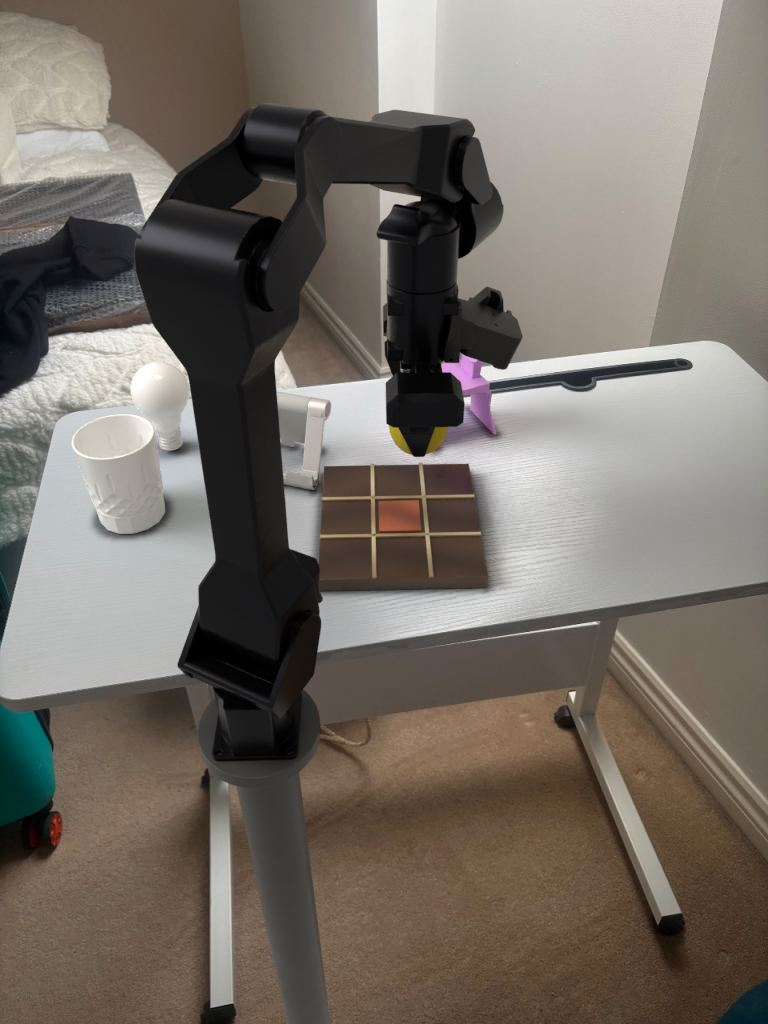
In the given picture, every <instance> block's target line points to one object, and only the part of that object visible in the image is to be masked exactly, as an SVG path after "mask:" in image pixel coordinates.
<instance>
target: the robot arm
mask: <svg viewBox="0 0 768 1024" xmlns="http://www.w3.org/2000/svg"><path fill="white" fill-rule="evenodd" d="M475 133H476V128H475V126H474V124H473V122H472V121H471V120H469V119H468V118H463V117H456V116H448V115H439V114H431V113H424V112H417V111H409V110H403V109H391V110H387V111H382V112H379V113H375V114H373V116H372V117H371V120H369V121H366V120H365V121H363V120H357V119H350V118H345V117H344V118H342V117H336V116H331V115H329V114H328V113H327V112H325V111H324V110H321V109H318V108H317V109H315V108H311V107H310V108H308V107H302V106H295V105H287V104H279V103H273V102H263V103H259V104H257V105H255V106H250V107H248V108H247V109H245V111H244V112H243V113H242V114H241V115H240V118H239V119H238V121H237V122H236V124H235V125H234V127H233V128H232V130H231V131H230V133H229V135H228V136H227V137H226V138H225V139H224V140H222V141H221V142H219V143H217V144H216V145H215V146H213V147H212V148H210V149H209V150H208V151H207V152H205V153H204V154H202V155H201V156H200V157H198V158H197V159H195V160H194V161H193V162H190V164H188V165H186V166H185V167H184V168H182V169H181V170H180V171H179V172H178V173H177V174H176V175H175V176H174V178H173V179H172V180H171V182H170V184H169V185H168V187H167V189H166V190H165V191H164V194H163V195H162V196H161V198H160V199H159V200H158V202H157V203H156V205H155V207H154V208H153V209H152V212H151V213H150V215H149V216H148V218H147V219H146V221H145V222H144V223H143V225H142V226H141V227H142V228H141V230H140V232H139V234H138V235H137V236H136V239H135V241H134V250H133V253H134V255H133V257H134V269H135V273H136V277H137V280H138V281H137V282H138V284H139V287H140V290H141V293H142V296H143V300H144V302H145V306H146V309H147V312H148V314H149V317H150V321H151V323H152V326H153V327H154V329H155V330H156V332H158V334H159V335H160V337H161V338H162V340H163V341H164V343H165V344H166V345H167V346H168V348H169V349H170V350H171V352H172V353H173V354H174V356H175V357H176V359H177V360H178V361H179V362H180V364H181V365H182V366H183V368H184V369H185V371H186V374H187V379H188V383H189V387H190V398H191V403H192V404H191V405H192V409H193V416H194V423H195V430H196V435H197V444H198V449H199V456H200V463H201V470H202V476H203V482H204V490H205V496H206V497H205V498H206V503H207V509H208V515H209V523H210V529H211V535H212V541H213V542H212V543H213V549H214V562H213V563H212V565H211V567H210V568H209V569H208V571H207V572H206V574H205V575H204V577H203V579H202V580H201V581H200V583H199V584H198V586H197V594H198V595H197V597H198V598H197V599H198V601H197V602H198V606H197V608H196V611H195V614H194V616H193V620H192V623H191V625H190V628H189V631H188V634H187V636H186V640H185V642H184V644H183V647H182V650H181V653H180V655H179V658H178V661H177V668H178V669H179V670H180V671H181V672H182V673H183V674H184V675H185V676H186V677H187V678H190V679H195V680H198V681H200V682H202V683H204V684H207V685H208V686H210V687H212V691H213V696H214V698H215V700H216V705H217V710H218V719H217V725H216V731H215V737H214V743H213V750H212V757H213V759H214V760H215V761H263V760H293V759H295V758H296V757H297V756H298V747H299V733H300V718H301V703H302V692H301V691H302V690H305V688H306V686H307V685H308V683H309V682H310V681H311V680H312V678H313V677H314V675H315V671H316V666H317V665H316V664H317V658H318V653H319V652H318V651H319V645H320V637H321V631H322V618H321V616H320V613H321V612H320V604H321V603H323V601H324V600H323V599H324V598H323V595H322V593H321V591H320V587H319V581H320V567H319V565H318V564H319V561H318V559H317V558H316V557H313V556H311V555H308V554H306V553H303V552H300V551H298V550H295V549H292V548H290V543H289V532H288V531H289V530H288V517H287V507H286V505H287V503H286V493H285V492H286V491H285V484H284V479H283V472H284V468H283V456H282V455H283V454H282V441H281V438H280V429H279V416H278V403H277V392H278V391H277V381H276V380H277V379H276V359H277V357H278V356H279V354H280V352H281V351H282V349H283V348H284V346H285V344H286V342H287V341H288V339H289V338H290V336H291V334H292V332H293V331H294V329H295V328H296V326H297V324H298V322H299V319H300V301H301V292H302V289H303V288H304V286H305V285H306V283H307V281H308V279H309V277H310V275H311V274H312V272H313V270H314V269H315V266H316V265H317V263H318V261H319V259H320V257H321V256H322V254H323V252H324V250H325V249H326V245H327V234H326V231H327V230H326V221H325V219H326V218H325V207H324V205H325V204H324V198H325V196H326V194H327V193H328V191H329V189H330V188H331V186H332V185H370V186H372V187H375V188H377V189H379V190H381V191H385V192H390V193H396V194H401V195H407V196H413V197H419V198H420V200H416V201H411V202H409V203H407V204H405V205H404V204H399V203H394V204H393V206H392V207H391V210H390V212H389V214H388V215H387V216H386V217H385V218H384V219H383V220H382V221H381V222H380V223H379V225H378V228H377V230H376V238H377V239H379V240H383V241H386V243H387V244H386V253H387V254H386V257H387V258H386V259H387V261H386V263H387V265H386V271H387V273H386V274H387V275H386V303H384V304H383V306H382V334H383V335H382V336H383V337H386V340H385V341H384V343H383V344H384V357H385V360H386V363H387V365H388V369H389V370H390V372H391V375H392V376H391V377H390V378H389V379H388V380H386V382H385V423H386V425H388V427H389V426H391V427H393V428H399V430H400V432H401V434H402V436H403V438H404V440H405V442H406V444H407V446H408V447H409V449H410V451H411V453H412V455H411V456H412V457H414V458H424V457H425V456H426V455H427V454H426V452H427V449H428V447H429V444H430V441H431V438H432V435H433V432H434V430H435V427H448V428H458V427H460V426H461V425H462V424H463V425H464V420H465V418H464V417H465V405H466V404H465V397H464V396H463V391H462V385H461V382H460V381H459V380H458V379H457V378H456V377H455V376H454V375H453V374H452V373H451V372H442V365H441V364H442V363H459V359H461V356H460V355H462V354H463V355H465V356H467V357H470V358H473V359H476V360H479V361H482V363H486V364H489V365H492V367H493V368H494V369H498V370H501V371H502V370H507V369H508V367H509V366H510V363H511V361H512V360H513V357H514V355H515V354H516V352H517V350H518V348H519V346H520V344H521V342H522V340H523V337H524V336H523V332H522V330H521V326H520V323H519V321H518V319H517V318H516V317H515V316H514V315H513V313H512V310H509V309H507V310H506V311H505V309H504V297H503V295H502V291H501V290H499V289H496V288H492V287H490V286H485V287H484V288H483V289H481V291H479V292H478V293H477V294H476V295H474V297H471V296H470V297H469V298H468V300H466V299H462V298H459V286H458V283H457V282H458V281H457V280H458V270H459V269H458V268H459V267H458V266H459V264H458V263H459V259H463V258H464V257H466V256H468V255H469V254H470V253H471V252H472V251H474V250H475V249H476V248H477V247H478V246H479V245H481V244H482V243H483V242H484V241H485V240H486V239H488V238H489V237H490V236H491V235H492V234H493V233H494V232H495V231H497V230H498V228H499V226H500V224H501V223H502V220H503V216H504V208H505V207H504V204H503V201H502V196H501V194H500V192H499V190H498V189H497V187H496V186H495V185H494V183H493V182H492V181H491V179H490V175H489V170H488V167H487V163H486V159H485V154H484V152H483V148H482V143H481V141H480V139H479V138H478V137H476V136H474V135H475ZM263 181H270V182H275V183H282V184H285V185H293V186H295V187H296V188H295V189H296V198H295V200H294V201H293V203H292V205H291V207H290V209H289V210H288V212H287V214H286V215H285V217H284V219H283V221H282V220H281V219H280V218H277V217H275V216H272V215H267V214H262V213H257V212H251V211H247V210H242V209H236V208H234V207H235V206H236V205H238V204H239V203H240V202H242V201H243V200H244V199H246V198H247V197H249V196H250V195H251V194H253V193H254V192H255V191H257V189H258V188H259V187H260V186H261V184H262V182H263ZM291 751H293V752H294V753H293V754H289V752H291ZM218 753H222V754H221V755H219V756H217V755H216V754H218Z"/></svg>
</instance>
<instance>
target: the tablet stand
mask: <svg viewBox="0 0 768 1024" xmlns="http://www.w3.org/2000/svg"><path fill="white" fill-rule="evenodd" d="M277 403H278V416H279V429H280V441H281V444H282V445H283V446H287V447H291V448H295V443H300V444H304V445H303V456H302V457H303V458H302V468H301V472H297V471H291V470H286V471H283V479H284V486H291V487H297V488H301V489H304V490H312V491H316V489H317V487H318V486H319V481H320V480H319V479H320V471H321V470H320V469H321V462H322V461H321V459H322V449H323V440H324V428H325V422H326V421H327V420H329V418H330V416H331V412H332V401H331V400H330V399H327V398H319V397H315V396H314V397H312V396H307V395H303V394H302V395H301V394H295V393H288V392H281V391H277Z"/></svg>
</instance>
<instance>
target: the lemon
mask: <svg viewBox="0 0 768 1024" xmlns="http://www.w3.org/2000/svg"><path fill="white" fill-rule="evenodd" d="M388 430H389V434H390V437H391V439H392V441H393V443H394V444H395V445H396V446H397V448H398V449H399V450H400V451H402V452H403V453H405V454H408V455H411V456H413V455H412V453H411V451H410V449H409V447H408V446H407V444H406V442H405V440H404V438H403V436H402V434H401V432H400V430H399V428H393V427H391V426H389V425H388ZM448 430H449V427H435V430H434V432H433V435H432V438H431V441H430V444H429V447H428V449H427V452H426V455H430V454H431V453H433V452H435V451H437V450H438V448H440V446H441V445H442V444H443V442H444V441H445V439H446V436H447V434H448ZM436 449H437V450H436Z"/></svg>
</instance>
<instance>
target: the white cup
mask: <svg viewBox="0 0 768 1024" xmlns="http://www.w3.org/2000/svg"><path fill="white" fill-rule="evenodd" d="M71 447H72V451H73V453H74V455H75V458H76V461H77V465H78V467H79V470H80V473H81V476H82V478H83V482H84V484H85V487H86V488H87V491H88V493H89V497H90V499H91V502H92V503H93V506H94V508H95V511H96V513H97V516H98V519H99V523H101V525H102V526H103V527H104V528H105V529H106V531H109V532H112V533H115V534H118V535H134V534H138V533H141V532H143V531H147V530H150V529H151V528H153V527H154V526H156V525H157V524H159V523H160V521H161V520H162V519H163V517H164V515H165V513H166V505H165V497H164V491H163V490H164V483H163V476H162V470H161V461H160V457H159V456H160V455H159V451H158V443H157V438H156V430H155V428H154V427H153V425H152V423H151V421H150V420H149V419H148V418H145V417H143V416H139V415H136V414H131V413H130V414H129V413H128V414H127V413H117V414H110V415H104V416H101V417H98V418H95V419H92V420H90V421H89V422H86V423H85V424H83V425H82V426H80V428H78V429H77V430H76V431H75V432H74V434H73V435H72V438H71Z"/></svg>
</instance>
